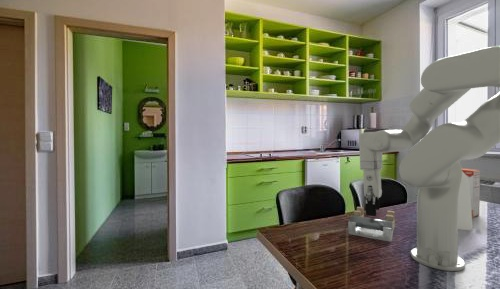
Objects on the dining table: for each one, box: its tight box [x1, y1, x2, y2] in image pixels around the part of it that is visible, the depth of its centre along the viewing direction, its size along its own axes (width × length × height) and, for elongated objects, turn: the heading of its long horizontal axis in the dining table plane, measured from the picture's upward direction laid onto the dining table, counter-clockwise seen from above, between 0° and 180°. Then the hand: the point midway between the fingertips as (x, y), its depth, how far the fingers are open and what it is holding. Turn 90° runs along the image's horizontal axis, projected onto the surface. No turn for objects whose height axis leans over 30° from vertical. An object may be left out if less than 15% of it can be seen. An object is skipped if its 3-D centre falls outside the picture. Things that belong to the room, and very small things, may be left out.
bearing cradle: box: [353, 206, 396, 233], centre depth 102 cm, size 8×14×6 cm, turn 57°
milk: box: [458, 171, 474, 231], centre depth 103 cm, size 12×12×26 cm
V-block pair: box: [347, 220, 394, 243], centre depth 94 cm, size 8×14×4 cm, turn 57°
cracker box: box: [462, 167, 481, 218], centre depth 118 cm, size 14×6×21 cm, turn 25°
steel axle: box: [348, 214, 393, 231], centre depth 93 cm, size 4×14×4 cm, turn 57°
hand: (373, 212), depth 92 cm, fingers open, 9 cm apart
